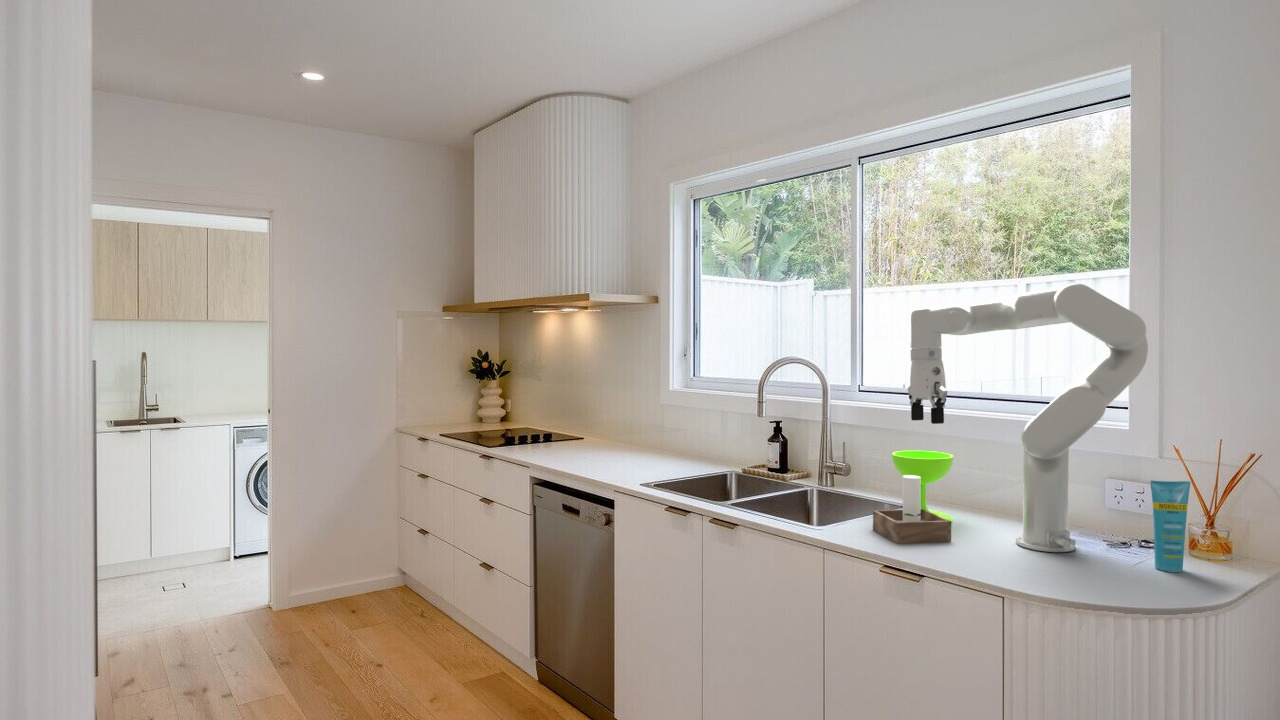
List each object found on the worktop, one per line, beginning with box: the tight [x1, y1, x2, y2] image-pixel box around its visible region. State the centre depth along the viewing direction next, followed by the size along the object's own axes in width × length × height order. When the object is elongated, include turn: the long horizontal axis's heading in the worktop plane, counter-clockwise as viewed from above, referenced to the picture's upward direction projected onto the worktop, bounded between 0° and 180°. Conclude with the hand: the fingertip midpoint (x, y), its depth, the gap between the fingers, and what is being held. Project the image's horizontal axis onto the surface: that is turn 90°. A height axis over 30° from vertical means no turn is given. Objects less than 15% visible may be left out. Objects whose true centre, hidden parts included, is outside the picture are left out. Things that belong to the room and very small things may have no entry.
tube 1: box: [902, 475, 921, 522], centre depth 190 cm, size 4×4×15 cm
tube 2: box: [1149, 480, 1191, 573], centre depth 160 cm, size 7×5×19 cm, turn 81°
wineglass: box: [891, 450, 954, 524], centre depth 208 cm, size 16×16×18 cm
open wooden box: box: [872, 509, 952, 544], centre depth 191 cm, size 14×14×5 cm
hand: (927, 421), depth 193 cm, fingers open, 9 cm apart
